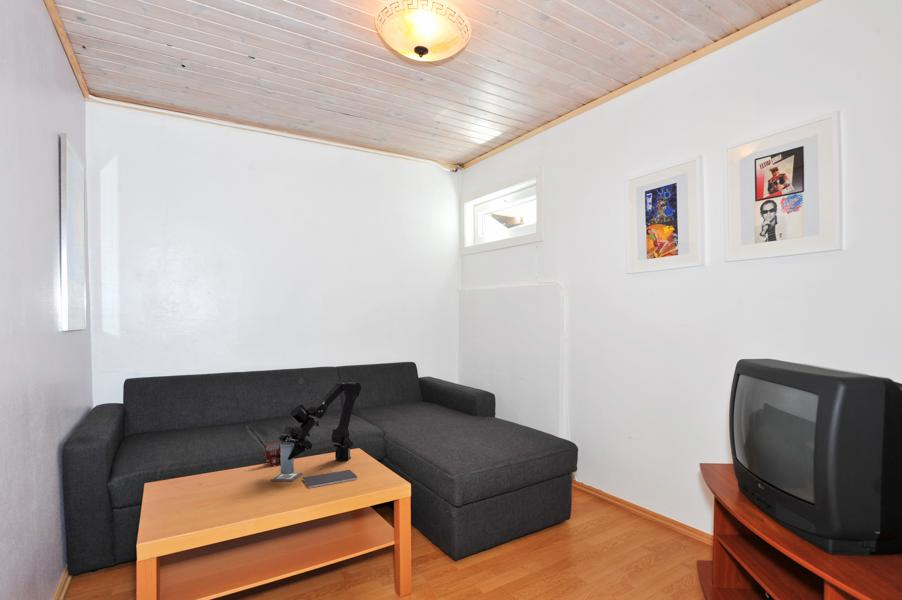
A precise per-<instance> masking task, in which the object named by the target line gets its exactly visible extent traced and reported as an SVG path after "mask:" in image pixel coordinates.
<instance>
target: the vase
mask: <svg viewBox="0 0 902 600" xmlns="http://www.w3.org/2000/svg"><path fill="white" fill-rule="evenodd" d="M294 442H295V441H294ZM294 442H284V443H281V442H280V451H279V453H280V454H281V463H280V473H281V474H282V475H288V474H292V473H295V470H294V468H295V467H294V466H295V465H294V463H295V461H294V458H295V457H294V458H292V459H291V460H288V457H289V455H290V453H291V452H292V450H293V448H294Z"/></svg>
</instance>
